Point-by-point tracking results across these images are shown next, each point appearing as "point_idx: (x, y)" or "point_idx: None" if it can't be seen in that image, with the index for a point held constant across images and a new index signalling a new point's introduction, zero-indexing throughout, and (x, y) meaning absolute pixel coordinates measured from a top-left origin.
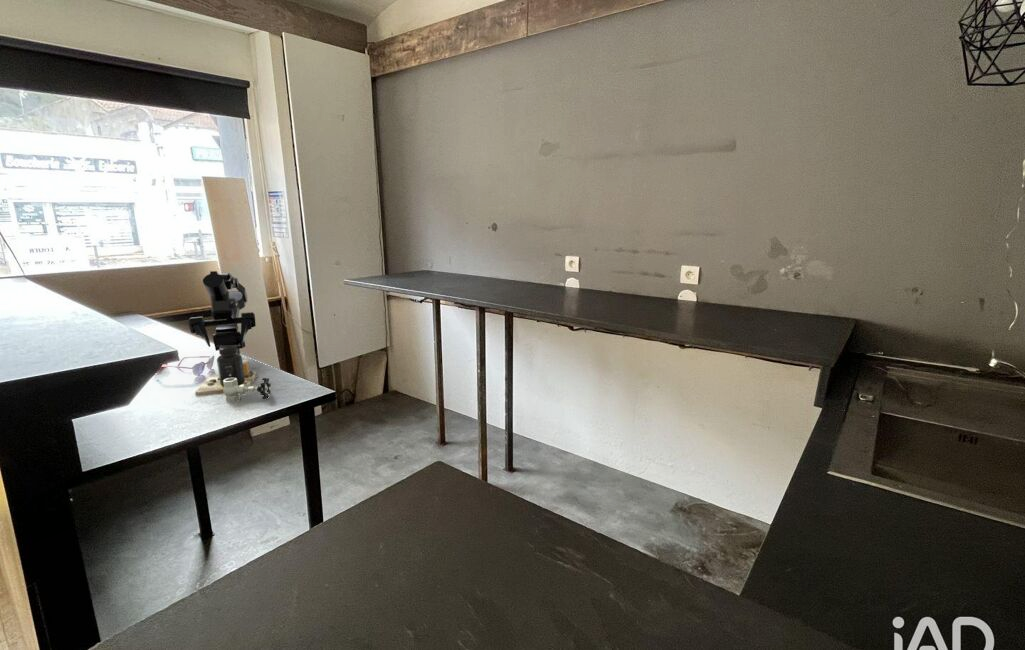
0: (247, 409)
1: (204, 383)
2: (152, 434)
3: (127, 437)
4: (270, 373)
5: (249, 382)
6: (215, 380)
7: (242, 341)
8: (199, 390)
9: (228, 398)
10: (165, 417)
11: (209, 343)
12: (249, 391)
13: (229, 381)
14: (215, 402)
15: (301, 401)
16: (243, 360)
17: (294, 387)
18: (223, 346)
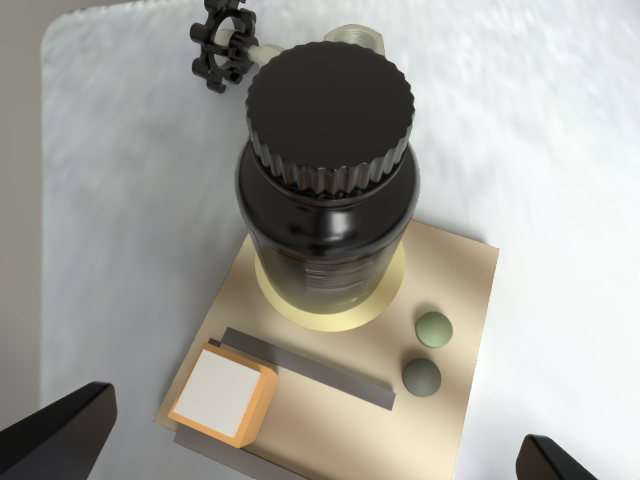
0: (315, 28)
1: (465, 374)
2: (572, 6)
3: (637, 20)
4: None
5: (247, 240)
6: (407, 365)
7: (100, 382)
8: (482, 263)
9: None
10: (567, 96)
11: (544, 450)
12: None
13: (359, 25)
14: (409, 137)
15: (153, 3)
16: (199, 411)
17: (104, 125)
18: (368, 141)
